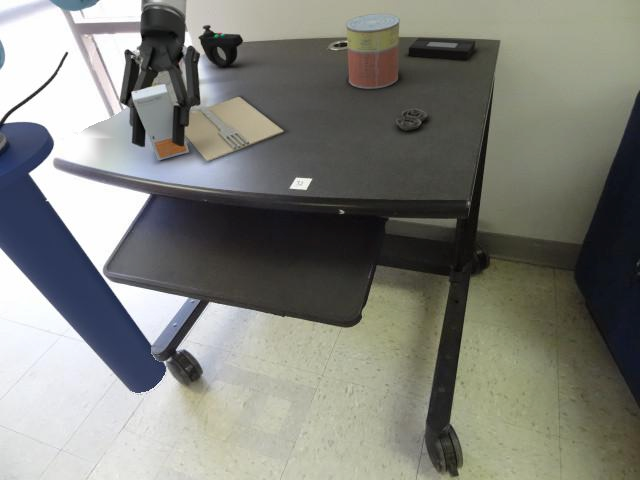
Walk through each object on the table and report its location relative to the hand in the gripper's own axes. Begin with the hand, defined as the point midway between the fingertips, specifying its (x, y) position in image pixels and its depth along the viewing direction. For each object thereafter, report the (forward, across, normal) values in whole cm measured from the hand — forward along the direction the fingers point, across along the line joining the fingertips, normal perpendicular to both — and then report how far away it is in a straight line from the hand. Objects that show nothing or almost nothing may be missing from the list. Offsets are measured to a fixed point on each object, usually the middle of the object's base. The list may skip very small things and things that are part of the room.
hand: (158, 144), depth 72 cm
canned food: (-22, -36, -28) cm, 51 cm away
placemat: (-7, -7, -12) cm, 16 cm away
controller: (-31, +4, -36) cm, 48 cm away
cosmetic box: (0, 0, -5) cm, 5 cm away
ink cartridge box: (-14, +9, -19) cm, 25 cm away
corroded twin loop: (-7, -45, -12) cm, 47 cm away
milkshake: (-24, +11, -29) cm, 39 cm away
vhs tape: (-32, -52, -38) cm, 72 cm away
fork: (-7, -6, -12) cm, 15 cm away
